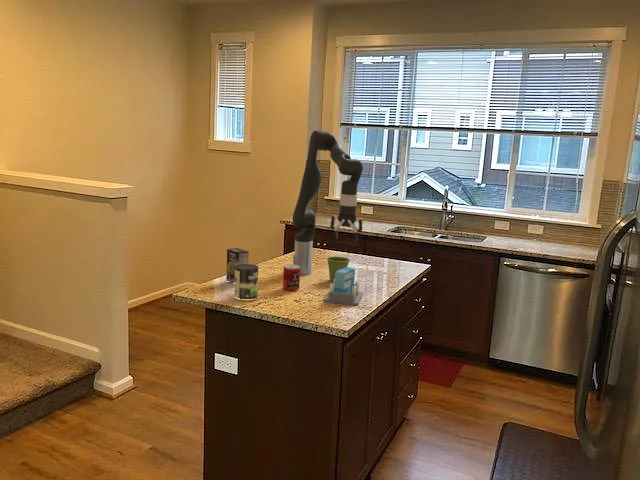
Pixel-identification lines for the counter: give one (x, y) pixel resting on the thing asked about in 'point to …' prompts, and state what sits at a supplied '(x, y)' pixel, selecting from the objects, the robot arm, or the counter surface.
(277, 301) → the counter surface
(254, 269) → the coffee can
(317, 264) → the counter surface
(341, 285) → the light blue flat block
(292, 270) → the canned food
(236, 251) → the coffee box
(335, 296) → the tray
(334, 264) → the plant pot
